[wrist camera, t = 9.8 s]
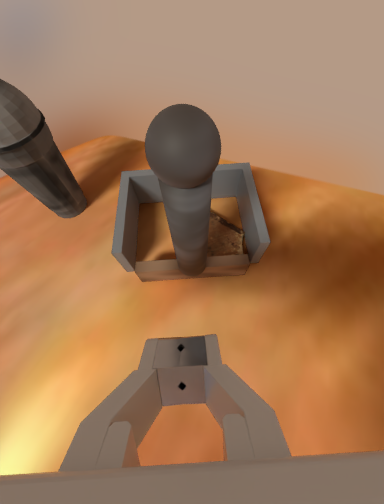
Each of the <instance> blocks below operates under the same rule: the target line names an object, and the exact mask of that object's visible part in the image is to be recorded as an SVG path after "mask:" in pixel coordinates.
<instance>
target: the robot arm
mask: <svg viewBox="0 0 384 504" xmlns="http://www.w3.org/2000/svg"><path fill="white" fill-rule="evenodd" d="M200 403H206V405H207V407H208V408H209V410H210V411H211V413H212V414H213V416H214V417H215V419H216V421H217V422H218V424H219V425H220V427H221V428H222V430H223V455H224V461H215V462H200V463H185V464H170V465H155V466H140V462H139V458H138V453H137V448H138V446H139V445H140V443H141V441H142V440H143V438H144V437H145V435H146V433H147V432H148V430H149V428H150V427H151V425H152V424H153V422H154V420H155V419H156V417H157V415H158V414H159V412H160V411H161V409H162V406H170V405H180V404H200ZM0 504H384V450H382V451H367V452H352V453H337V454H322V455H306V456H291V454H290V451H289V448H288V446H287V443H286V440H285V438H284V435H283V433H282V430H281V427H280V425H279V422H278V419H277V417H276V414H275V411H274V410H273V409H272V408H271V407H270V406H269V405H268V404H267V403H266V402H265V401H264V400H263V399H262V398H261V397H260V396H259V395H258V394H256V393H255V392H254V391H253V390H252V389H251V388H250V387H249V386H248V385H247V384H246V383H245V382H244V381H243V380H242V379H241V378H240V377H239V376H238V375H237V374H236V373H235V372H234V371H232V370H231V369H230V368H229V367H228V366H227V365H226V364H223V365H222V360H221V355H220V350H219V344H218V339H217V335H216V334H211V335H205V336H190V337H173V338H155V339H147V340H146V342H145V345H144V349H143V353H142V356H141V360H140V364H139V367H138V370H135V371H133V372H132V373H131V374H130V375H129V376H128V377H127V378H126V379H125V380H124V381H123V382H122V383H121V384H120V385H119V386H118V387H117V388H116V389H115V390H114V391H113V392H112V393H111V394H110V395H109V396H107V397H106V398H105V399H104V400H103V401H102V402H101V403H100V404H99V405H98V406H97V407H96V408H95V409H94V410H93V411H92V412H91V413H90V414H89V415H88V416H87V417H86V418H85V419H84V420H83V421H82V422H81V423H80V425H79V427H78V430H77V432H76V434H75V436H74V438H73V441H72V443H71V445H70V447H69V449H68V451H67V454H66V456H65V458H64V460H63V462H62V465H61V467H60V469H59V471H58V472H46V473H31V474H16V475H1V476H0Z"/></svg>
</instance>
